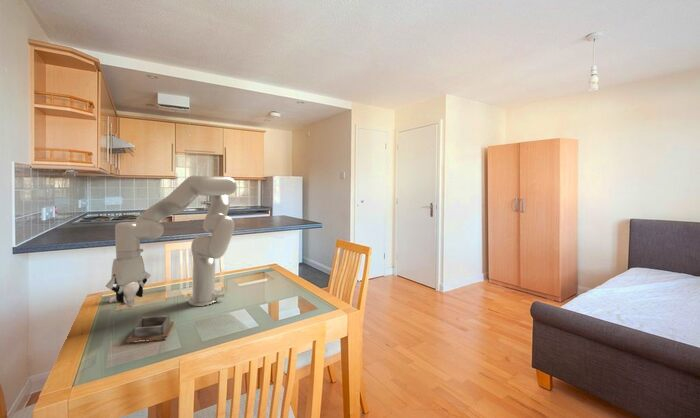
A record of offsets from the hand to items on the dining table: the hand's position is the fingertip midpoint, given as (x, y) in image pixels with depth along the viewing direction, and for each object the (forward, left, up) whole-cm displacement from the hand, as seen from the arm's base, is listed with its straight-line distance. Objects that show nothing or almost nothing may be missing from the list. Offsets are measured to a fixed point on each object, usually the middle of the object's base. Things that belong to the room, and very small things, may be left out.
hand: (130, 298), depth 122 cm
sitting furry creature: (+10, -26, -10) cm, 30 cm away
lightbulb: (0, 0, -3) cm, 3 cm away
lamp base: (-10, +12, -10) cm, 18 cm away
